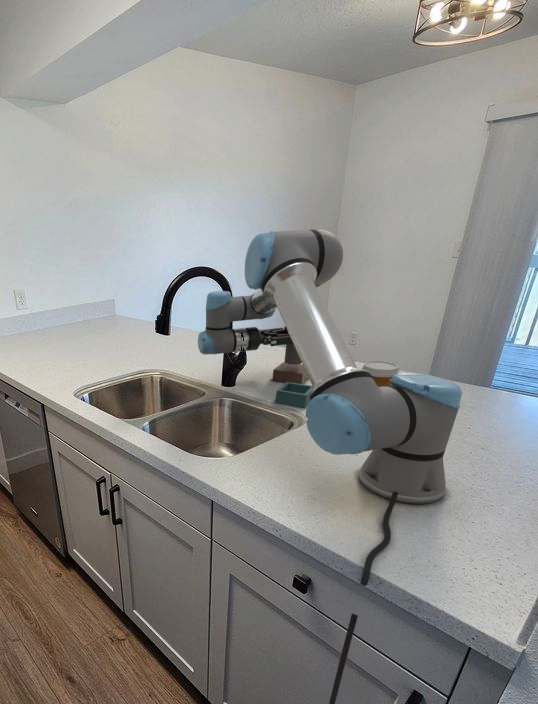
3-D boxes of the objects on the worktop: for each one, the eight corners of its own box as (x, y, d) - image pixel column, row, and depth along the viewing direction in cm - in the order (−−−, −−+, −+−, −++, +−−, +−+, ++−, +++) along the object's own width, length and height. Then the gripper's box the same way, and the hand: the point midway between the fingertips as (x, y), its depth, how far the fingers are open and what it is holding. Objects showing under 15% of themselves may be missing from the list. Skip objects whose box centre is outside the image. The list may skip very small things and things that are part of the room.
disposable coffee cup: (395, 411, 123) (405, 370, 118) (359, 410, 125) (367, 370, 120) (385, 398, 131) (394, 360, 126) (351, 398, 133) (358, 360, 128)
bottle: (304, 364, 147) (310, 319, 140) (287, 365, 147) (292, 320, 140) (299, 359, 152) (304, 315, 145) (282, 360, 152) (286, 316, 145)
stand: (301, 385, 146) (302, 373, 144) (272, 380, 151) (273, 369, 149) (310, 376, 153) (311, 365, 151) (282, 372, 158) (283, 361, 156)
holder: (304, 408, 129) (306, 395, 127) (275, 402, 134) (276, 390, 132) (313, 398, 135) (315, 386, 133) (285, 393, 140) (286, 381, 138)
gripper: (234, 343, 153) (296, 338, 156) (255, 358, 136) (324, 351, 139) (235, 322, 150) (298, 316, 152) (257, 334, 133) (328, 327, 136)
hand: (310, 333), depth 146 cm, fingers closed on bottle, 6 cm apart
